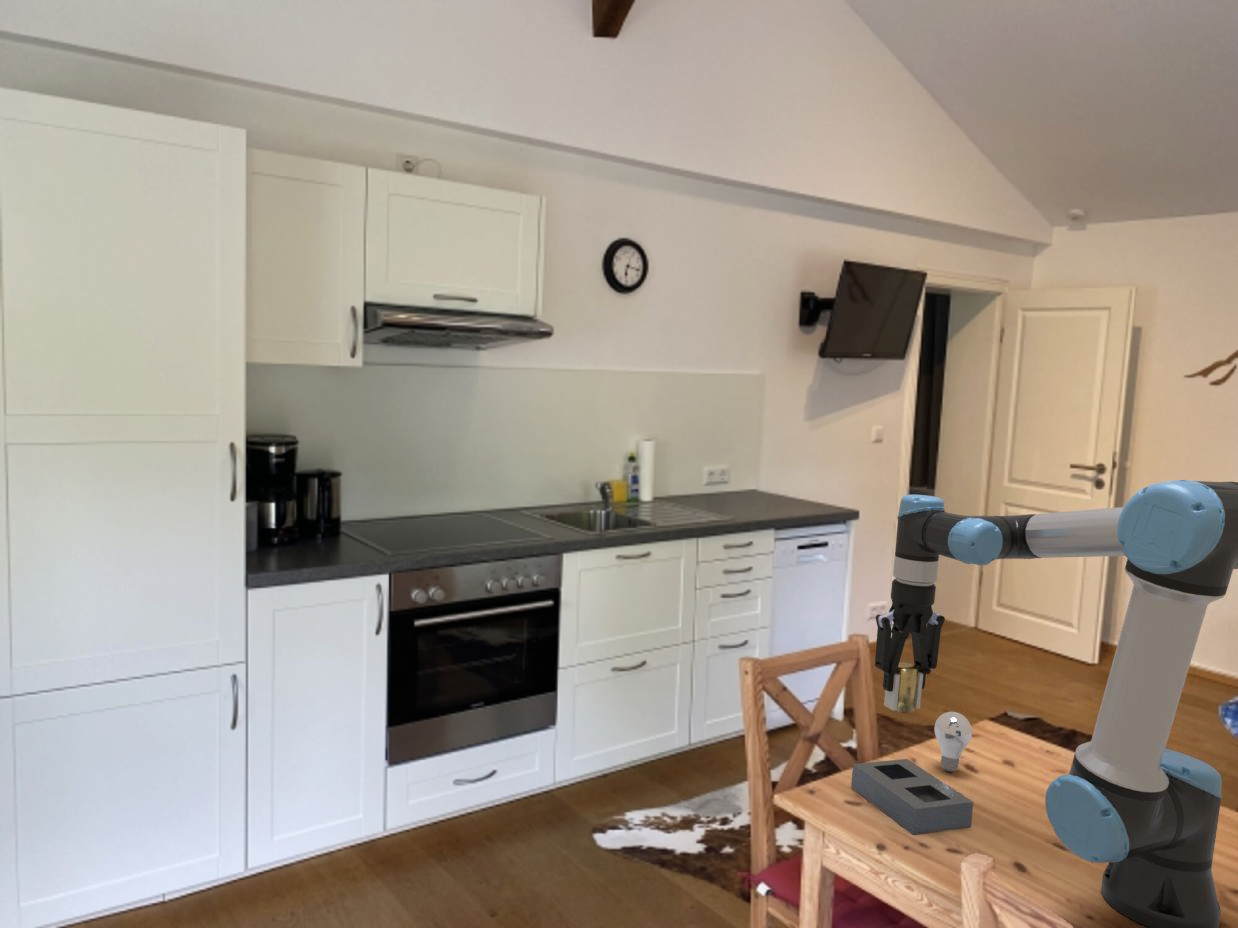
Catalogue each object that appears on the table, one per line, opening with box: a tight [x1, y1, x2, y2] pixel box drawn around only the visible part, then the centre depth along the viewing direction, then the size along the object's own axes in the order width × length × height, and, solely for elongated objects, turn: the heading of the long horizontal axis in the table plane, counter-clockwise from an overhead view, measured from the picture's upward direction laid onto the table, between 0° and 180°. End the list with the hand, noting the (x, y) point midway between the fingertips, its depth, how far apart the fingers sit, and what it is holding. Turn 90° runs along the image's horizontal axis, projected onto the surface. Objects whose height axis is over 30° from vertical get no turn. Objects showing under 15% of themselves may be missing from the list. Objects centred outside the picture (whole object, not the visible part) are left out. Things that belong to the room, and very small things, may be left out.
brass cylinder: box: [888, 661, 918, 714], centre depth 165 cm, size 4×4×8 cm
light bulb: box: [934, 711, 973, 774], centre depth 178 cm, size 7×7×12 cm
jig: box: [850, 758, 974, 836], centre depth 162 cm, size 18×12×4 cm, turn 20°
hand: (901, 706), depth 165 cm, fingers closed on brass cylinder, 4 cm apart
